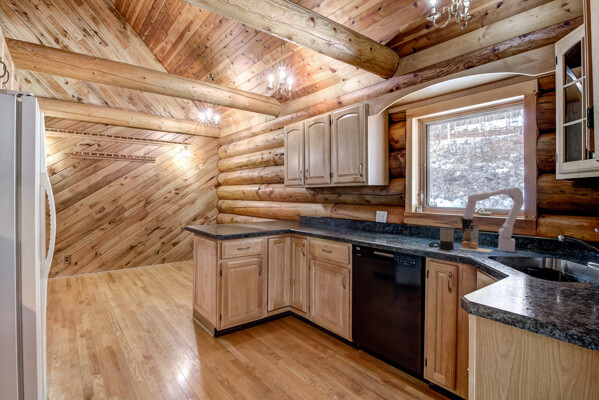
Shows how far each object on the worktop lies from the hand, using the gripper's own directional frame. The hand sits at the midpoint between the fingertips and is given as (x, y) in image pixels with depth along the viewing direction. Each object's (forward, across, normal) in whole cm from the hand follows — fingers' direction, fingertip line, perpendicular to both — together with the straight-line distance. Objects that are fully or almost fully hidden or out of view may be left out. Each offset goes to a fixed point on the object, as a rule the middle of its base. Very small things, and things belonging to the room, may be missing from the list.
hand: (465, 228), depth 220 cm
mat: (+12, +4, +10) cm, 17 cm away
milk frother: (+17, +16, -8) cm, 25 cm away
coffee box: (+12, -17, +2) cm, 21 cm away
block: (+12, 0, +6) cm, 14 cm away
